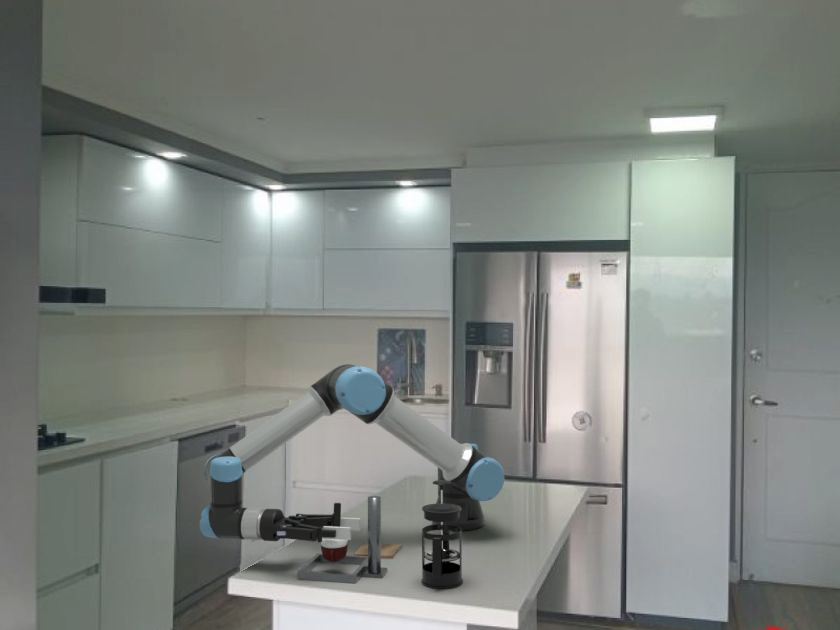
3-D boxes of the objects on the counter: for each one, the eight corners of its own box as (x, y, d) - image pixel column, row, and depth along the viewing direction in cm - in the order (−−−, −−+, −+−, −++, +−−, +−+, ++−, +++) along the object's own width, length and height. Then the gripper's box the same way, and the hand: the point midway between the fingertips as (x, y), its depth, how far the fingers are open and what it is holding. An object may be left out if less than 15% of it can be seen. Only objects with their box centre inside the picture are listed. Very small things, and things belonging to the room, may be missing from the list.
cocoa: (336, 568, 181) (336, 516, 180) (313, 563, 184) (313, 512, 183) (357, 554, 190) (357, 505, 189) (334, 550, 192) (334, 501, 192)
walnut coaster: (401, 546, 207) (401, 544, 207) (392, 558, 197) (392, 556, 197) (364, 544, 209) (364, 542, 209) (354, 556, 199) (354, 553, 199)
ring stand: (391, 565, 192) (391, 490, 192) (377, 584, 178) (376, 504, 178) (317, 560, 196) (316, 487, 196) (297, 579, 182) (296, 501, 182)
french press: (426, 573, 186) (426, 475, 186) (466, 575, 184) (465, 476, 184) (415, 590, 175) (415, 486, 174) (457, 593, 173) (457, 488, 172)
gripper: (279, 528, 201) (367, 532, 196) (246, 552, 181) (342, 558, 177) (279, 499, 201) (366, 502, 196) (246, 519, 181) (342, 524, 176)
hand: (355, 528), depth 186 cm, fingers closed on cocoa, 7 cm apart
